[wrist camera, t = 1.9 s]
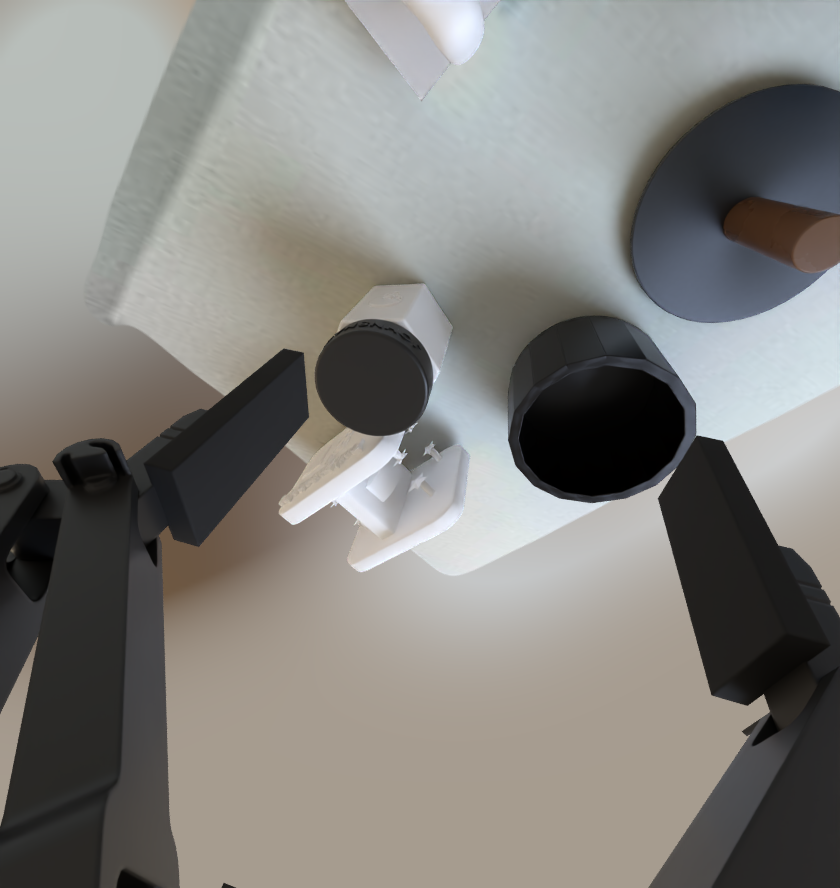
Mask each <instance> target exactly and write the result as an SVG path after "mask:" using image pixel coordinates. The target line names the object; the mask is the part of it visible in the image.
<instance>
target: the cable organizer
mask: <svg viewBox="0 0 840 888" xmlns="http://www.w3.org/2000/svg"><path fill="white" fill-rule="evenodd" d="M416 424H417V423H415V424H414V425H412V426H411V427H410V428H408V430H407V432H406V433H405V431H403V432H400V433H398V434H394V435H390V436H370V435H365V434H362V433H358V432H356V431H353V430H351V429H349V428H348V427H347V428H346V429H345V430H343V431H342V432H341V433H339V434H338V435H337V436H336V437H334V438H333V439H332V440H330V441H329V442H328V443H326V444H325V445H324V446H323V447H322V448H321V449H319V450H318V451H317V452H316V454H315V455H314V456H313V457H312V458H311V460H310V461H309V463H308V465H307V466H306V468H305V470H304V471H303V473H302V474H301V476H300V477H299V479H298V481H297V482H296V484H295V485H294V487H293V489H292V490H291V492H289V493H288V494H287V496H286V495H284V496H283V497H282V499H281V500H280V502H279V505H280V506H281V508H280V510H279V515H281V516H282V517H283V518H284V519H286V520H287V521H288V522H290V523H291V524H292V525H294V524H297V523H300V522H301V521H303V520H304V519H306V518H307V517H309V516H310V515H312V514H313V513H315V512H317V511H318V510H319V509H321V508H323V507H324V506H326V505H327V504H329V503H330V502H333V505H335V506H336V505H337V503H339V504H340V505H341V506H343V507H344V508H345V509H346V510H347V511H348V512H350V513H351V514H352V515H353V516H354V517H355V518H357V520H356V522H355V524H357V525H359V524H360V526H359V529H358V531H357V534H356V537H355V539H354V542H353V544H352V547H351V550H350V552H349V555H348V558H347V562H348V564H349V565H350V566H352V567H353V568H354V569H355V570H357V571H358V572H364V571H367V570H369V569H371V568H373V567H375V566H377V565H379V564H381V563H383V562H385V561H387V560H389V559H391V558H393V557H395V556H397V555H399V554H401V553H403V552H405V551H407V550H409V549H411V548H413V547H415V546H417V545H419V544H421V543H423V542H425V541H427V540H428V539H430V538H432V537H434V536H436V535H438V534H440V533H442V532H444V531H446V530H447V529H449V528H450V527H451V526H452V525H453V524H454V523H455V522H456V521H457V520H458V519H459V517H460V516H461V514H462V512H463V509H464V502H465V493H466V485H467V477H468V469H469V461H470V455H469V453H468V452H467V451H466V450H465V449H464V448H463V447H462V446H461V445H453V446H451V447H448V448H447V449H445V450H443V451H442V452H440V453H438V452H437V451H436V450H435V449H434V448H433V447H434V446H435V445H436V444H433V445H432V443H433V441H432V442H431V443H430V445H429V446H427V447H425V453H424V454H423V456H424V455H425V454H426V453H428V454H430V455H431V456H432V458H431V459H429V460H428V461H426V462H424V463H423V464H421V465H420V466H418V467H416V468H415V469H413V470H412V471H409V470H408V469H407V468H406V467H405V466H404V465H403V464H402V463H401V462H402V460H403V458H404V457H405V456H406V455H407V454H408V453H405V450H406V449H405V450H404V451H403V453H401V452H400V451H399V450H398V449H399V447H400V444H401V441H402V438H403V435H404V433H405V434H407V433H408V432H410V433H411V432H412V429H413V427H414V426H415V425H416ZM333 505H332V506H333ZM355 524H354V525H355ZM354 525H353V526H354Z"/></svg>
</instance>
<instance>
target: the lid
mask: <svg viewBox="0 0 840 888" xmlns="http://www.w3.org/2000/svg"><path fill="white" fill-rule="evenodd" d="M630 243H631V258H632V265H633V268H634V271H635V274H636V277H637V279H638V281H639V283H640V285H641V287H642V288H643V290H644V291H645V293H646V294H647V295H648V296H649V298H650V299H652V300H653V301H654V302H655V303H656V304H657V305H658V306H659V307H661V308H662V309H664V310H665V311H666V312H668V313H670V314H673V315H675V316H677V317H680V318H683V319H686V320H690V321H696V322H706V323H718V322H729V321H734V320H740V319H744V318H747V317H751V316H754V315H757V314H760V313H762V312H765V311H767V310H770V309H772V308H774V307H776V306H778V305H780V304H782V303H784V302H786V301H787V300H789V299H791V298H792V297H794V296H796V295H797V294H799V293H800V292H802V291H803V290H804V289H806V288H807V287H808V286H810V285H811V284H812V283H814V282H815V281H816V280H817V279H818V278H819V277H821V276H822V275H823V274H824V273H825V272H826V271H827V270H828V269H830V268H832V267H834V266H835V265H837V264H838V263H840V92H839V91H837V90H833V89H830V88H827V87H824V86H818V85H810V84H791V85H783V86H777V87H772V88H767V89H763V90H760V91H757V92H754V93H751V94H748V95H745V96H743V97H741V98H739V99H736V100H734V101H732V102H730V103H728V104H726V105H725V106H723V107H721V108H719V109H718V110H716V111H714V112H713V113H711V114H710V115H709V116H707V117H706V118H704V119H703V120H702V121H700V122H699V123H698V124H696V125H695V126H694V127H693V128H692V129H691V130H690V131H688V132H687V133H686V134H685V135H684V136H683V137H682V138H681V139H680V140H679V141H678V142H677V143H676V144H675V145H674V146H673V147H672V149H671V150H670V151H669V152H668V153H667V155H666V156H665V157H664V158H663V160H662V161H661V162H660V164H659V165H658V166H657V168H656V170H655V171H654V173H653V174H652V176H651V178H650V179H649V181H648V183H647V185H646V187H645V189H644V191H643V193H642V195H641V198H640V200H639V203H638V206H637V209H636V211H635V216H634V220H633V224H632V231H631V239H630Z"/></svg>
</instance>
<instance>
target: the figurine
mask: <svg viewBox="0 0 840 888" xmlns="http://www.w3.org/2000/svg"><path fill="white" fill-rule="evenodd" d="M344 1H345V2H346V3H347V5H348V6H349V7H350V8H351V10H352V11H353V12H354V14H355V15H356V16H357V18H358V19H359V20H360V22H361V23H362V24H363V25H364V27H365V28H366V29H367V31H368V32H369V33H370V35H371V36H372V37H373V39H374V40H375V41H376V42H377V44H378V45H379V46H380V48H381V49H382V50H383V52H384V53H385V54H386V56H387V57H388V58H389V59H390V61H391V62H392V63H393V65H394V66H395V67H396V69H397V70H398V71H399V72H400V74H401V75H402V76H403V78H404V79H405V80H406V82H407V83H408V84H409V86H410V87H411V88H412V89H413V91H414V92H415V93H416V95H417V96H418V97H419V99H420V100H421V101H422V100H423V99H424V98H425V96H426V95H427V94H428V93H429V91H430V90H431V89H432V87H433V86H434V85H435V84H436V82H437V81H438V80H439V78H440V77H441V76H442V75H443V73H444V72H445V71H446V69H447V68H448V67H449V66H450V64H451V63H452V64H454V65H460V64H463V63H465V62H466V61H467V60H469V59H470V58H471V57H472V56H473V54H474V53H475V52H476V50H477V49H478V47H479V46H480V44H481V41H482V39H483V35H484V29H485V28H484V21H485V19H486V18H487V17H488V15H489V14H490V13H491V12H492V10H493V9H494V8H495V6H496V5H497V4H498V3H499V1H500V0H344Z"/></svg>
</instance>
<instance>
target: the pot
mask: <svg viewBox="0 0 840 888" xmlns="http://www.w3.org/2000/svg"><path fill="white" fill-rule="evenodd" d="M695 436H696V403H695V402H694V400H693V398H692V397H691V395H690V394H689V392H688V391H687V389H686V387H685V386H684V384H683V383H682V381H681V380H680V378H679V377H678V375H677V374H676V372H675V371H674V370H673V368H672V367H671V366H670V364H669V363H668V362H667V360H666V359H665V357H664V356H663V355H662V353H661V352H660V351H659V349H658V348H657V347H656V345H655V344H654V342H653V341H652V340H651V338H650V337H649V336H648V335H647V334H646V333H644V332H642V331H641V330H640V329H638V328H637V327H635V326H634V325H632V324H630V323H627V322H625V321H623V320H619V319H616V318H612V317H606V316H585V317H578V318H574V319H570V320H567V321H564V322H561V323H559V324H556V325H554V326H552V327H550V328H549V329H547V330H545V331H544V332H542V333H541V334H540V335H538V336H537V337H536V338H534V339H533V340H532V341H531V342H530V343H529V344H528V345H527V346H526V348H525V349H524V350H523V352H522V353H521V354H520V356H519V358H518V359H517V361H516V363H515V365H514V367H513V370H512V374H511V378H510V386H509V391H508V441H509V445H510V448H511V452H512V455H513V459H514V462H515V465H516V466H517V468H518V469H519V470H520V471H521V472H522V473H523V474H524V475H525V476H526V478H527V479H528V480H529V481H530V482H531V483H532V484H533V485H534V486H535V487H537V488H539V489H541V490H543V491H545V492H547V493H549V494H552V495H554V496H556V497H558V498H561V499H567V500H574V501H581V502H587V503H596V502H604V501H611V500H618V499H624V498H628V497H630V496H633V495H635V494H637V493H640V492H641V491H644V490H646V489H649V488H651V487H653V486H656V485H657V484H658V483H659V482H660V481H662V480H663V479H664V478H665V477H666V476H667V475H669V474H670V473H671V472H672V471H673V470H674V469H675V468H677V467H678V465H679V463H680V462H681V460H682V459H683V457H684V455H685V454H686V452H687V450H688V449H689V447H690V446H691V444H692V442H693V440H694V438H695Z"/></svg>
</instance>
